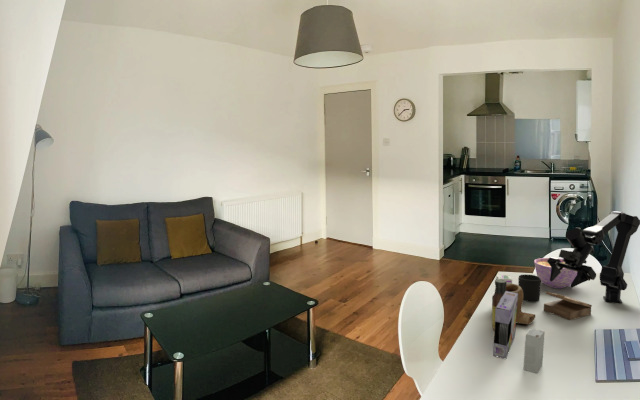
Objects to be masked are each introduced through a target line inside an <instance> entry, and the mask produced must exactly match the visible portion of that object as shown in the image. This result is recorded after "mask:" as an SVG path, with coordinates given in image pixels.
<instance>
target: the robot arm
mask: <svg viewBox="0 0 640 400" xmlns="http://www.w3.org/2000/svg"><path fill="white" fill-rule="evenodd" d="M639 227H640V219H639V217H638V216H637V215H630V214H628V213H625V212H624V211H616V210H615V211H614V210H613V211H610V212H609V214H608V215H607V216H606V217H604V218H603V219H602V220H600V222H598V223H596V224H595V225H593V226H590V227H589V226H588V227H586V228H584V229H581V227H578V226H577V227H574V228H573V229H570V230H568V231H567V232H565V238H566V239H567V241H568V242H569V244H570V245H571V246H572V248H574V249H573V250H572V251H571V250H565V249H560V251H559V254H558V258H557V257H553V256H551V257H548V258H549V259H548V260H547V262H548V263H549V265H550V266H551V275H550V281H551V282H552V281H553V280H554V279H555V278H556V277H557V276H558V275H559V274H560V273H561V271H560V270H562V269H563V268H566V269H569V270H573V271H577V275H576V277H575V279H574V280H573V282H572V283H571V285H569V287H570V288H571V289H572V288H575V287H577V286H578V285H580V284H583V283H585V282H587V281H591V280H592V281H594V280H595V279H596V278H597V273H596V271H595V269H593V267H592V266H589V265H585V264H587V263H588V261H587V259H588V257H589V255H590V254H595V249H594V246H593V245H596V246H598V245H601V243H602V242H603V241H604V239H605V235H606V234H607V233H608V232H609V231H610V230H612V229H613V228H615V229H616V232H617V234H616V238H615V241H614V244H613V247H612V251H611V255H610V258H609V261H608V263H607V265H602V267H601V271H600V273H599V282H600V286H603V287H605V293H604V295H603V296H602V298H603V300H604V302H606V303H614V304H623V301H622V299H621V295H622V291H625V290H626V289H627V287H628V283H627V282H626V280H625V278H624V276H625V273H624V271H623V268H622V267H623V264H624V261H625V256H626V253H627V250H628V247H629V244H630V239H631V237H632V235H634V234H636V232H637V231H638V230H639V229H638V228H639ZM559 259H563V261H564V262H565V263H562V262H561V261H560V260H559Z"/></svg>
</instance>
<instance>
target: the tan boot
mask: <svg viewBox="0 0 640 400" xmlns="http://www.w3.org/2000/svg"><path fill="white" fill-rule="evenodd" d="M506 291H508V292H513V293H518V300H517V312H516V324H519V325H520V324H521V325H531V324H532V323H533V322H534V320H535V319H536V314H535V313H534V314H533V313H528V312H523V311H522V306H523V302H524V300H523V290H522V288H521V287H520V286H519V285H518V284H516V283H512V284H507V285H506Z"/></svg>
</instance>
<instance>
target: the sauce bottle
mask: <svg viewBox="0 0 640 400" xmlns="http://www.w3.org/2000/svg"><path fill="white" fill-rule="evenodd" d="M494 285H495V286H494V287H495V288H494V294H493V295H492V297H491V298H492V299H491V300H492V301H491V302H492V303H491V322H492V323H491V326H492V327H491V328H492V330H493V332H494V329H495V310H496V307H497V305H498V303H499V301H500V299H501V297H502V296H503V295H504V293H505V291H506V285H507V283H506V281H505V280H501V279H498V280H496V279H495V280H494Z"/></svg>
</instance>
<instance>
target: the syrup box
mask: <svg viewBox="0 0 640 400" xmlns="http://www.w3.org/2000/svg"><path fill="white" fill-rule="evenodd" d="M498 279H501V280H505V281H506V283H507V284H513V279H512V277H511V276H510V275H506V274H498V275H496V276H495V280H498Z"/></svg>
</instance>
